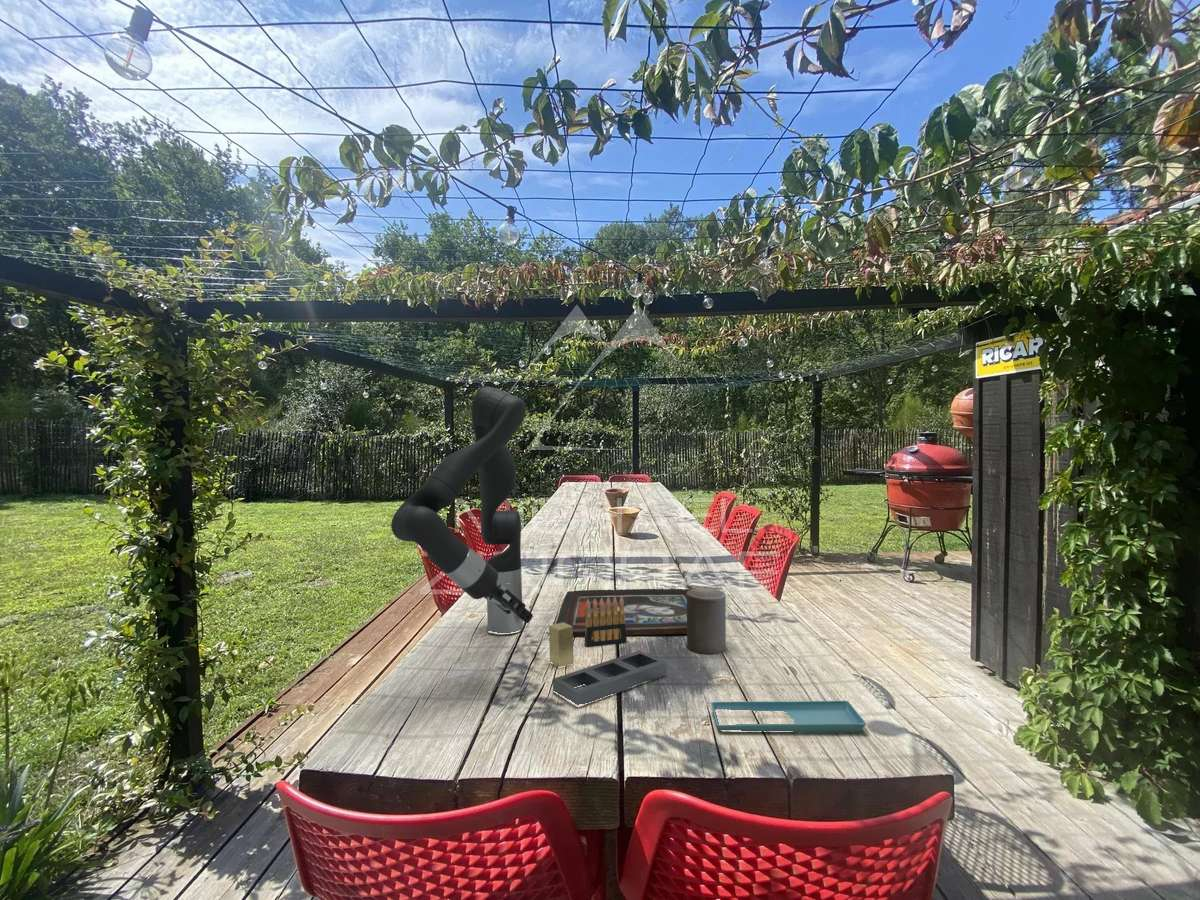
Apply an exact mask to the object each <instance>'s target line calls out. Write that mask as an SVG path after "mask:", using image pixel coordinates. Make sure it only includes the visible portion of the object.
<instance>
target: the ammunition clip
mask: <svg viewBox="0 0 1200 900" xmlns="http://www.w3.org/2000/svg"><path fill="white" fill-rule="evenodd" d="M621 643H622V644H627V643H628V639H627V635H626V624H625V611H624V602H623V598H622V596H621V597H620V602H619V618H618V608H617V600H616V597H614V599H613V611H612V613H611V604H610V599H609V597H608V598H607V602H606V623H605V612H604V602H603V599H602V598H601V600H600V609H599V620H598V610H597V602H596V599H594V601H593V613H592V616H591V609H590V602H589V599H587V602H586V614H585V637H584V646H585V648H593V647H600V646H601V647H602V646H603V647H604V646H609V645H610V646H613V645H621Z"/></svg>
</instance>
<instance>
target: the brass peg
mask: <svg viewBox="0 0 1200 900" xmlns="http://www.w3.org/2000/svg"><path fill="white" fill-rule="evenodd" d="M548 632H549V633H548V635H549V636H548V638H549V639H548V640H549V641H548V642H549V663H550V662H552V663H553V664H555V665H556V666H558V667H561V666H565V665H569V664H573V663H574V637H573V626H571V625H568V624H566V623H564V622H562V623H558V624H556V623H555V624H550V625H549V626H548ZM573 665H574V664H573Z"/></svg>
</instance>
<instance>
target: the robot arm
mask: <svg viewBox="0 0 1200 900" xmlns="http://www.w3.org/2000/svg"><path fill="white" fill-rule="evenodd" d="M470 411H471V422H472V428H473V432H474V438H475V442H473V443H471V444H469V445H467V446H464V447H462V448H460V449H458V450H456V451H454V452H452V453H450V454H449V455H448V456H446V457H444V459H443V460H442V461H441V462H440V463H438V465H437V466H436V467H435V469H434V470H433V471H432V472H431V473H430V475H429V476H428V477H427V479H426V480H425V482H424V484H422V486H420V487H419V488H418V489H417V490H416V491H414V492H413V494H412V495H410V496H409V497H408V498H407V499H406V500H405V501H404V502H403V503H402V504H400V506H399V508H397V510H396V512H395V513H394V515H393V517H392V518H391V522H390V523H391V524H390V527H391V531H392V532H391V533H392V534H393V535H394V537H395V538H397V539H398V540H400V541H402V542H410V543H411V542H412V543H416V544H417V545H418V546H419V547H421V548H422V549H423V550H424V551H425V552H426V556H427V559H428V560H429V561H430V562H431V563H432V564H433V565H435V567H436V568H438V569H439V570H440V571H442V573H444V574H445V575H446V576H447V577H448V578H449V580H450V581H451V582H453V583H454V585H456V586H457V587H459V589H461V590H463V592H465V593H466V594H467V595H469V597H471V598H472V599H473V600H480V599H482V598H483V599H485V600H486V610H487V613H486V615H487V616H486V619H487V632H488V631H492V632H497V633H511V632H516V631H519V630H521V629H522V628H523V629H524V623H526V624H529V623H530V622H531V620H532V619H533V617H534V614H533V613H531V611H529V610H528V609H527V608H526V606H527V605H526V604H525V603H524V602H523V584H522V580H523V579H522V557H521V556H522V555H521V554H522V552H521V551H522V550H521V544H522V543H521V541H522V538H521V537H522V521H521V514H520V512H519V511H518V510H517V509H515V510H514V509H509V510H508V509H507V510H505V509H504V510H497V509H498V508H499V507H500V506H501V505H502V504H503V503H504V502H505V501H507V499H508V498H509V497H510V495H511V494H512V493H513V491H514V490H515V488H516V484H517V466H516V462H515V458H514V456H513V454H512V452H511V451H510V449H509V447H508V446H507V442H509V440H510V439H511V438H512V437H513V436H514V435H515V433H516V432H517V431H518V430H519V428H520V427H521V426H522V424H523V422H524V420H525V418H526V417H525V416H526V413H527V407H526V403H525V401H524V400H523V399H522V398H520V397H518V396H516V395H513V394H511V393H508V392H506V391H504V390H501V389H500V388H496V387H492V386H488V385H487V386H481V388H479V389H478V390H477V392H476V393H475V394H474V397H473V399H472V403H471V410H470ZM477 472H478V483H479V491H480V493H479V494H480V534H481V539H482V541H483V542H484V543H485V544H486V545H489V546H490V545H492V546H493V545H494V546H495V545H496V546H497V545H498V546H499V545H508V547H507V548H506V549H505V550H504V551H502V552H500V553H498V554H495V555H493V556H491V557H489V559H487V561H486V559H484V558H483V557H482V556H481V555H480V554H479V553H477V552H476V551H475V550H473V549H472V548H471V547H469V546H468V545H467V544H465V543H464V542H463V540H461V539H460V538H459V537H458V536H456V535H455V534H454V533H453V531H452V530H451V528H450V527H449V525H447V523H446V522H445V520H444V519H443V518H442V517H441V516H440V515H439V514H438V513H439V512H440V511H441V510H443V509H445V508H448V507H449V506H451V505H452V504H453V503H454V501H455V500H456V499H457V498H458V497H459V495H460V494H461V492H462V491H463V490H464V489H465V487H466V486H467V484H468V483H469V481H470V480H471V479H472V477H474V475H475V474H476V473H477Z"/></svg>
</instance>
